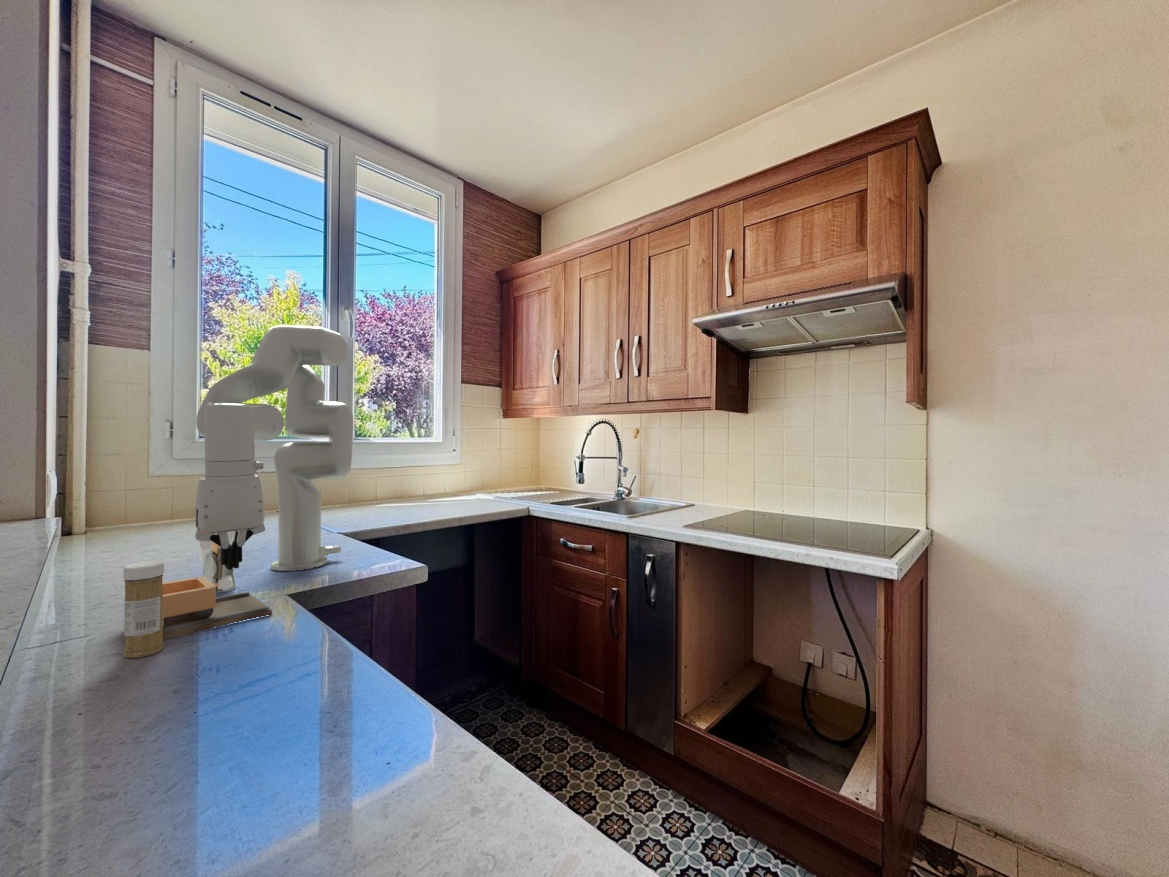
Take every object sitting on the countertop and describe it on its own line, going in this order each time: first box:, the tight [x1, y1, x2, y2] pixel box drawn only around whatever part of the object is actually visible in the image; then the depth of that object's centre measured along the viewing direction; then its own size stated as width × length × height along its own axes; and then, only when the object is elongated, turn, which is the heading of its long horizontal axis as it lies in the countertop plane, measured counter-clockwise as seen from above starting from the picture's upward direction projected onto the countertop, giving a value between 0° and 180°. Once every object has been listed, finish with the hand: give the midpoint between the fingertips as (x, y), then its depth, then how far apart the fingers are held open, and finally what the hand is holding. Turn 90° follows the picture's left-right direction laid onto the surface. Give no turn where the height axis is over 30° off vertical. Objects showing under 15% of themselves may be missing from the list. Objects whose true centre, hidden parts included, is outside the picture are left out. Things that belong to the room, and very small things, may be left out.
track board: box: [162, 591, 273, 641], centre depth 88 cm, size 18×14×2 cm
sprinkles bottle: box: [122, 560, 165, 659], centre depth 74 cm, size 5×5×14 cm
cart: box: [162, 575, 217, 619], centre depth 85 cm, size 10×10×5 cm
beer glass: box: [197, 531, 237, 594], centre depth 106 cm, size 7×7×15 cm
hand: (231, 567), depth 92 cm, fingers closed
